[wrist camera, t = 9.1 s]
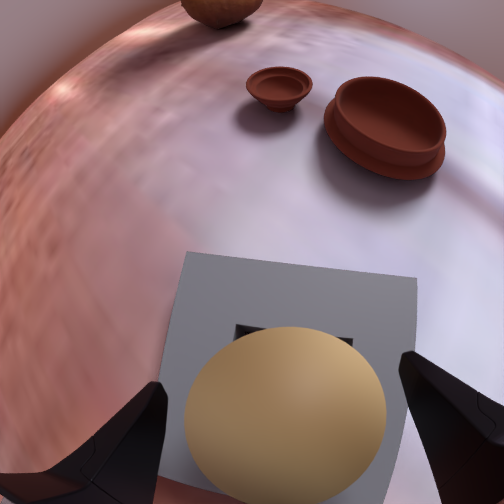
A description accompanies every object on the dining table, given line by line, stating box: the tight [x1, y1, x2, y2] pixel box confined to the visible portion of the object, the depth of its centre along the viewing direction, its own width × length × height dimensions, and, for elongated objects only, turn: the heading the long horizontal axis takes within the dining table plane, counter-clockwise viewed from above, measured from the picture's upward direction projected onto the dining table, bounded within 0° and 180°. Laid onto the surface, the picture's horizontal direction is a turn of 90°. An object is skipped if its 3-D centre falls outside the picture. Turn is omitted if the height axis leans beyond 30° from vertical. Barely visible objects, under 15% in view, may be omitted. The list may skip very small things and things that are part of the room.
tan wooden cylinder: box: [184, 327, 387, 504], centre depth 11 cm, size 5×5×12 cm
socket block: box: [158, 251, 417, 504], centre depth 15 cm, size 14×14×4 cm
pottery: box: [246, 67, 446, 180], centre depth 23 cm, size 12×20×4 cm, turn 59°
